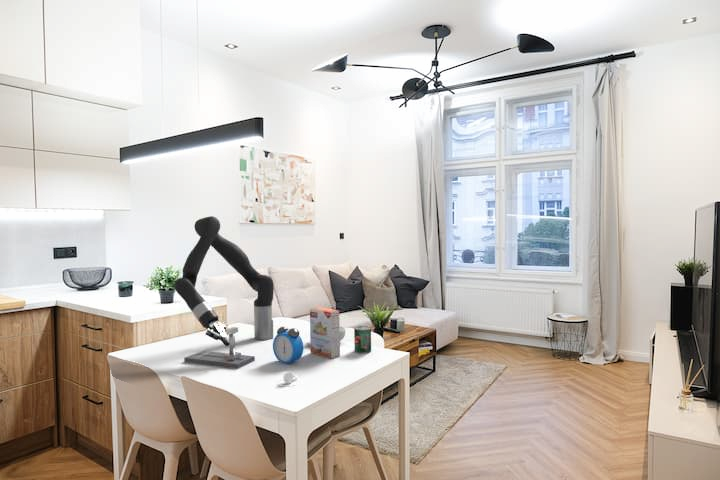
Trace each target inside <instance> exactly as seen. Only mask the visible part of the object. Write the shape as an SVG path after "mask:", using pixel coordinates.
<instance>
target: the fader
mask: <svg viewBox="0 0 720 480" xmlns="http://www.w3.org/2000/svg"><path fill="white" fill-rule="evenodd" d="M238 332H239V327H237V326H232V327H228V329H226V330H225V333H226V334H228V339H229V347H228V349H229V350H228V352H226V353H227V354H225V355H223V359H230V360H234V359H236V358H239V357H241V355H242V353H241V352H239V351H238V352H237V351H236V333H238Z"/></svg>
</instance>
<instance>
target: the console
mask: <svg viewBox="0 0 720 480" xmlns="http://www.w3.org/2000/svg"><path fill="white" fill-rule="evenodd" d="M227 353H228V352H218V351H209V350H201V351H198V352H196V353H192V354H191V355H188V356H185V357H184V358H183V359H184V361H183V362H184V363H187V364H194V365H195V364H196V365H203V366H211V367H213V366H214V367H217V368H218V367H221V368H225V369H227V368H228V369H236V370H239V369H241V368H243V367H245V366H247V365H249V364H251V363H253V362H255V360H256V357H255V356H254V355H245V354H241V357H239V358H236V359H234V360H230V359H223V355H225V354H227Z"/></svg>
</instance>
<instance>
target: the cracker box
mask: <svg viewBox="0 0 720 480" xmlns="http://www.w3.org/2000/svg"><path fill="white" fill-rule="evenodd" d="M309 321H310V322H309V326H310V327H309V329H310V330H309V331H310V332H309V333H310V334H309V335H310V336H309V338H310V339H309V341H310V342H309V343H310V353H311V354H314V355H317V356H322V357H324V358H328V359H334V358H337V357H340V355H341V343H340V342H341V341H340V327H341V326H340V310H337V309H331V308H327V307H319V306H317V307H312V308H309ZM339 326H340V327H339Z"/></svg>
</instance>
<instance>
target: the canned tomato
mask: <svg viewBox="0 0 720 480" xmlns="http://www.w3.org/2000/svg"><path fill="white" fill-rule="evenodd" d="M353 331H354V332H353V333H354V341H353V342H354V343H353V344H354V353H357V354H370V353H371V352H372V327H371V326H368V325H358V326H355V327H354V328H353Z"/></svg>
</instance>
